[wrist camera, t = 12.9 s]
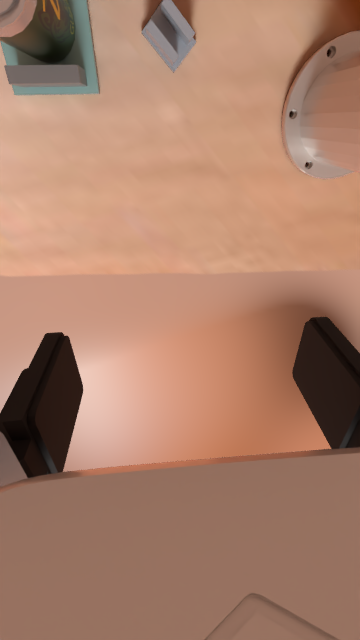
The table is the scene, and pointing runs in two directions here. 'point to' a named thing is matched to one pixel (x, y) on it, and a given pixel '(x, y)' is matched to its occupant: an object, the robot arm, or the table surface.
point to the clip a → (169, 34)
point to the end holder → (57, 64)
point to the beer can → (38, 28)
